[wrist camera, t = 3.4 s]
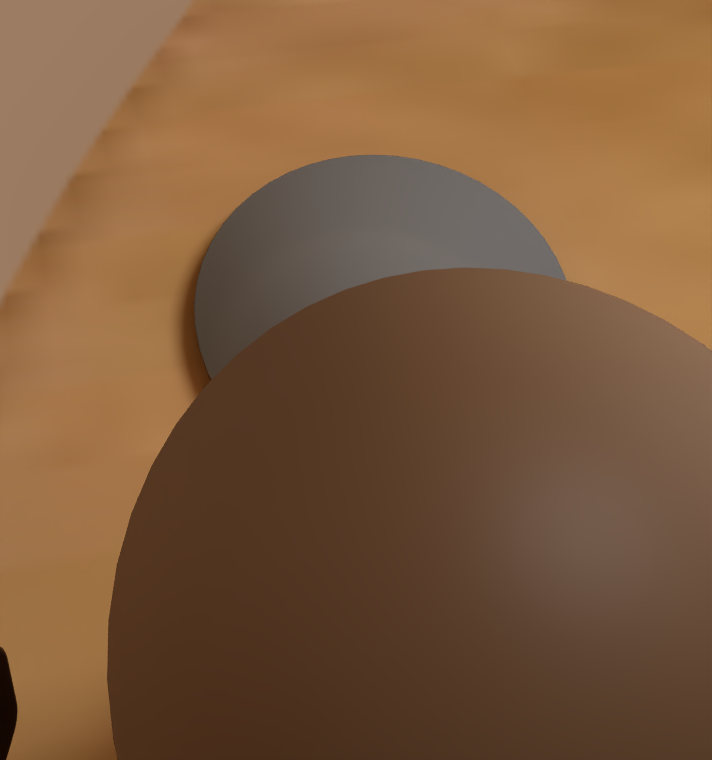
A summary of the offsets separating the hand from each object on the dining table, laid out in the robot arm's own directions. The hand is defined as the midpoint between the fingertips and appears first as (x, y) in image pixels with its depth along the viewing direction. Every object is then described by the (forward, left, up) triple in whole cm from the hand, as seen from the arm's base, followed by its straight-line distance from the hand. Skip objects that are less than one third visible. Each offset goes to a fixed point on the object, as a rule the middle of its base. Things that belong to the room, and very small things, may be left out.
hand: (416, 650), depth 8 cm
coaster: (+8, +6, -9) cm, 13 cm away
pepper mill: (0, 0, -9) cm, 9 cm away
